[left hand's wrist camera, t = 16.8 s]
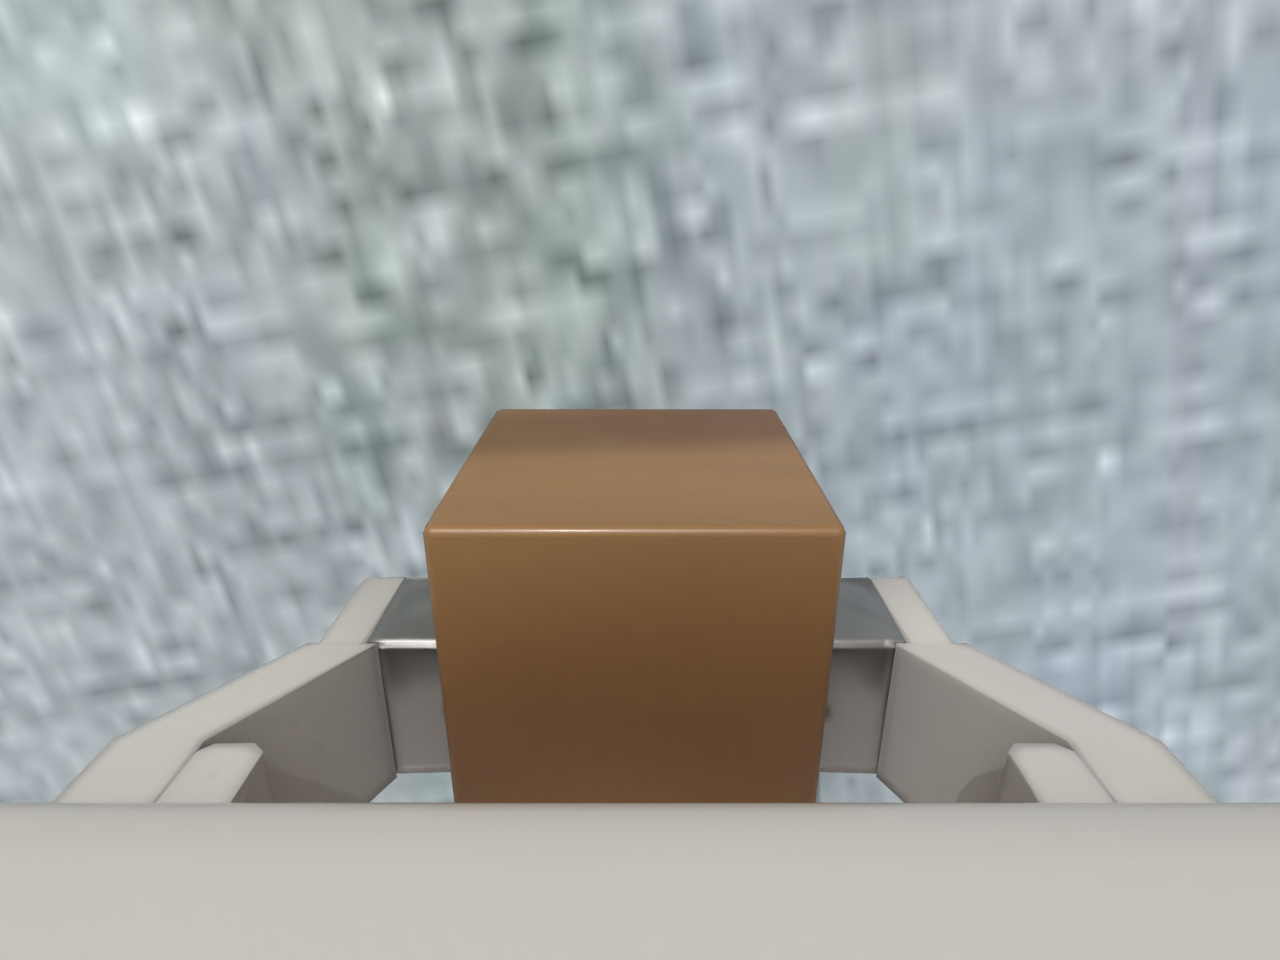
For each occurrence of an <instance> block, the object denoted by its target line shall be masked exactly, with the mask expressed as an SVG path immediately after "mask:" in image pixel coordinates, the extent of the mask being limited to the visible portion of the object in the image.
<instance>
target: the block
mask: <svg viewBox="0 0 1280 960" xmlns="http://www.w3.org/2000/svg"><path fill="white" fill-rule="evenodd" d="M845 536H846V533H845V530H844V527H843V525H842V523H841V522H840V520H839V518H838V517H837V515H836V513H835V512H834V510H833V508H832V506H831V505H830V503H829V501H828V500H827V498H826V496H825V495H824V493H823V491H822V489H821V488H820V486H819V484H818V483H817V481H816V479H815V478H814V476H813V474H812V472H811V471H810V469H809V467H808V466H807V464H806V462H805V461H804V459H803V457H802V455H801V454H800V452H799V450H798V449H797V447H796V445H795V444H794V442H793V440H792V438H791V437H790V435H789V433H788V432H787V430H786V428H785V427H784V425H783V423H782V421H781V420H780V418H779V416H778V415H777V413H776V411H773V410H656V409H501V410H499V411H497V412H496V413H495V415H494V417H493V418H492V420H491V421H490V423H489V425H488V426H487V428H486V430H485V431H484V433H483V434H482V436H481V438H480V439H479V441H478V442H477V444H476V446H475V447H474V449H473V451H472V452H471V454H470V455H469V457H468V459H467V460H466V462H465V463H464V465H463V467H462V468H461V470H460V472H459V473H458V475H457V476H456V478H455V480H454V481H453V483H452V484H451V486H450V488H449V489H448V491H447V493H446V494H445V496H444V497H443V499H442V501H441V502H440V504H439V505H438V507H437V509H436V510H435V512H434V514H433V515H432V517H431V518H430V520H429V522H428V523H427V525H426V526H425V529H424V532H423V537H424V545H425V554H426V562H427V571H428V580H429V588H430V597H431V605H432V614H433V622H434V631H435V640H436V648H437V657H438V665H439V674H440V682H441V691H442V700H443V708H444V717H445V725H446V734H447V742H448V751H449V759H450V768H451V777H452V785H453V794H454V802H455V803H816V795H817V786H818V777H819V769H820V760H821V751H822V742H823V733H824V724H825V715H826V706H827V697H828V688H829V679H830V670H831V661H832V652H833V643H834V634H835V625H836V616H837V607H838V598H839V589H840V580H841V571H842V562H843V553H844V544H845Z"/></svg>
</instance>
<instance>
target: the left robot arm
mask: <svg viewBox="0 0 1280 960" xmlns="http://www.w3.org/2000/svg"><path fill="white" fill-rule="evenodd" d="M432 772H451V768H450V759H449V751H448V742H447V734H446V725H445V717H444V708H443V700H442V691H441V682H440V674H439V665H438V657H437V648H436V640H435V631H434V622H433V614H432V605H431V597H430V588H429V580H428V578H406V577H384V578H368V579H365V580H364V581H363V582H362V583H361V585H360V586H359V588H358V589H357V590H356V592H355V593H354V595H353V596H352V598H351V599H350V600H349V602H348V603H347V605H346V606H345V608H344V609H343V610H342V612H341V613H340V615H339V616H338V617H337V619H336V620H335V622H334V623H333V625H332V626H331V627H330V629H329V630H328V632H327V633H326V635H325V636H324V637H323V639H322V640H321V642H320V643H307V644H305V645H303V646H301V647H299V648H297V649H295V650H293V651H291V652H289V653H287V654H285V655H283V656H281V657H279V658H277V659H275V660H273V661H271V662H269V663H267V664H265V665H262V666H260V667H258V668H256V669H254V670H252V671H250V672H248V673H246V674H244V675H242V676H240V677H238V678H236V679H234V680H232V681H230V682H228V683H226V684H224V685H222V686H220V687H218V688H216V689H214V690H212V691H210V692H208V693H206V694H204V695H202V696H200V697H198V698H196V699H194V700H192V701H190V702H188V703H185V704H183V705H181V706H179V707H177V708H175V709H173V710H171V711H169V712H167V713H165V714H163V715H161V716H159V717H157V718H155V719H153V720H151V721H149V722H147V723H145V724H143V725H141V726H139V727H137V728H135V729H133V730H131V731H129V732H127V733H125V734H123V735H121V736H119V737H117V738H115V739H113V740H111V741H110V742H109V743H108V744H107V745H106V746H105V747H104V748H103V749H102V750H101V752H100V753H99V754H98V755H97V756H96V757H95V758H94V759H93V760H92V761H91V762H90V763H89V764H88V765H87V766H86V767H85V768H84V769H83V770H82V771H81V773H80V774H79V775H78V776H77V777H76V778H75V779H74V780H73V781H72V782H71V783H70V784H69V785H68V786H67V787H66V788H65V789H64V790H63V791H62V792H61V793H60V795H59V796H58V797H57V798H56V799H55V800H54V801H53V802H52V803H0V960H1280V803H1218V802H1217V801H1216V800H1215V798H1214V797H1213V796H1212V795H1211V794H1210V793H1209V792H1208V791H1207V790H1206V789H1205V788H1204V787H1203V786H1202V784H1201V783H1200V782H1199V781H1198V780H1197V779H1196V778H1195V777H1194V776H1193V775H1192V774H1191V773H1190V772H1189V770H1188V769H1187V768H1186V767H1185V766H1184V765H1183V764H1182V763H1181V762H1180V761H1179V760H1178V759H1177V758H1176V757H1175V755H1174V754H1173V753H1172V752H1171V751H1170V750H1169V749H1168V748H1167V747H1166V746H1165V745H1164V744H1163V743H1162V741H1160V740H1158V739H1156V738H1154V737H1152V736H1150V735H1148V734H1146V733H1144V732H1142V731H1140V730H1138V729H1136V728H1134V727H1132V726H1130V725H1128V724H1126V723H1124V722H1122V721H1120V720H1118V719H1116V718H1114V717H1112V716H1110V715H1108V714H1106V713H1104V712H1102V711H1100V710H1098V709H1096V708H1094V707H1092V706H1090V705H1088V704H1086V703H1084V702H1082V701H1080V700H1078V699H1076V698H1074V697H1072V696H1070V695H1068V694H1066V693H1064V692H1062V691H1060V690H1058V689H1056V688H1054V687H1052V686H1050V685H1048V684H1046V683H1044V682H1042V681H1040V680H1038V679H1036V678H1034V677H1032V676H1030V675H1028V674H1026V673H1024V672H1022V671H1020V670H1018V669H1016V668H1014V667H1012V666H1010V665H1008V664H1006V663H1004V662H1002V661H1000V660H998V659H996V658H994V657H992V656H990V655H988V654H986V653H984V652H982V651H980V650H978V649H976V648H974V647H972V646H970V645H968V644H966V643H953V642H952V640H951V639H950V638H949V636H948V635H947V633H946V632H945V630H944V629H943V627H942V626H941V625H940V623H939V622H938V620H937V619H936V617H935V616H934V615H933V613H932V612H931V610H930V609H929V607H928V606H927V604H926V603H925V602H924V600H923V599H922V597H921V596H920V594H919V593H918V592H917V590H916V589H915V587H914V586H913V584H912V583H911V581H910V580H909V579H907V578H904V577H887V578H841V580H840V589H839V598H838V607H837V616H836V625H835V634H834V643H833V652H832V661H831V670H830V679H829V688H828V697H827V706H826V715H825V724H824V733H823V742H822V751H821V760H820V769H819V772H840V773H877V775H876V777H877V778H878V779H880V780H881V781H882V782H883V783H884V784H885V785H886V786H887V787H888V788H889V789H890V790H891V791H892V792H894V793H895V794H896V795H897V796H898V797H899V798H900V799H901V800H902V801H903V802H904V803H369V802H370V801H371V800H372V799H374V798H375V797H376V796H377V795H378V794H379V793H380V792H381V791H382V790H383V789H384V788H386V787H387V786H388V785H389V784H390V783H391V782H392V781H393V780H394V779H395V778H396V777H397V775H396V773H432Z"/></svg>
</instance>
